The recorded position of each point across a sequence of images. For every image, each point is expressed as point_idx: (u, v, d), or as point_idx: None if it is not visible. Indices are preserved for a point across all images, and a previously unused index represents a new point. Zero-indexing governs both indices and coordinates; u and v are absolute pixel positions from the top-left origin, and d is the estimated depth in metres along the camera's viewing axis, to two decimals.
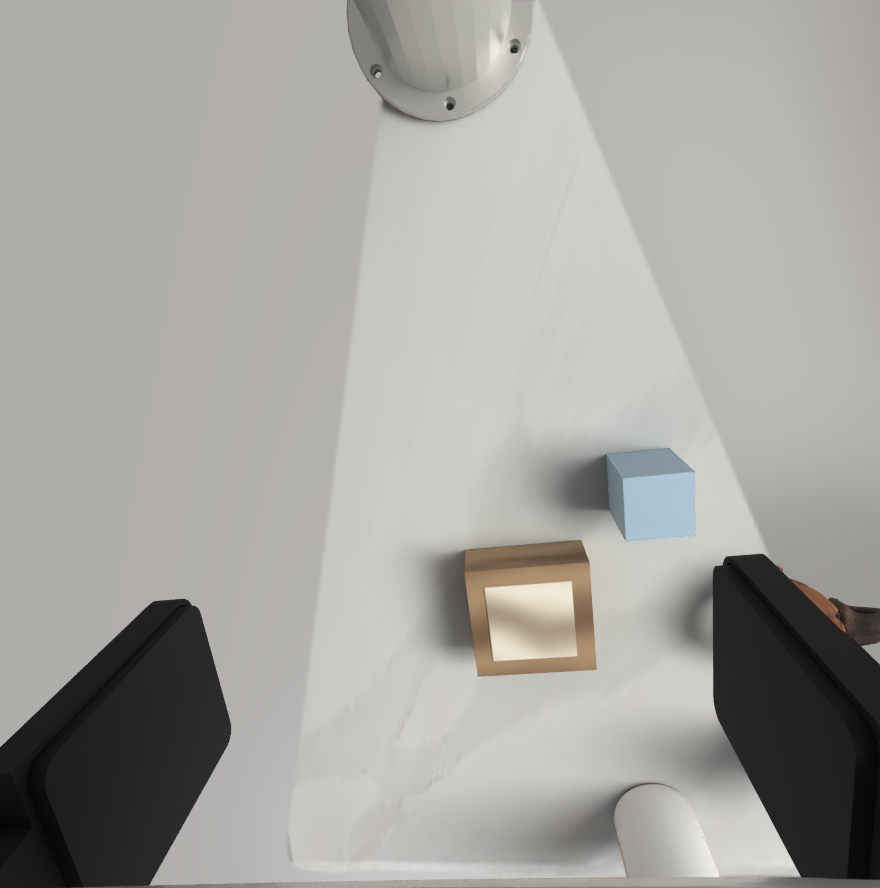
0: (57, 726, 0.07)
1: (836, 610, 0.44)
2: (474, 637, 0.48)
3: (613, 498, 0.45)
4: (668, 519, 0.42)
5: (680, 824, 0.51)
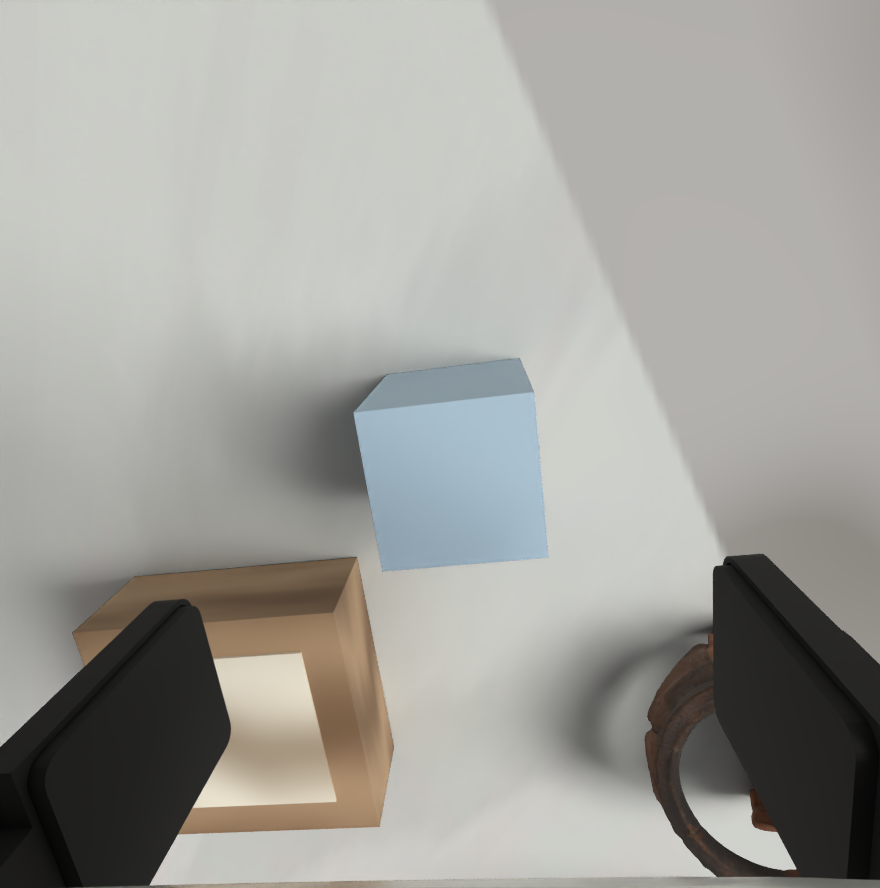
0: (57, 726, 0.07)
1: None
2: None
3: None
4: (477, 518, 0.16)
5: None
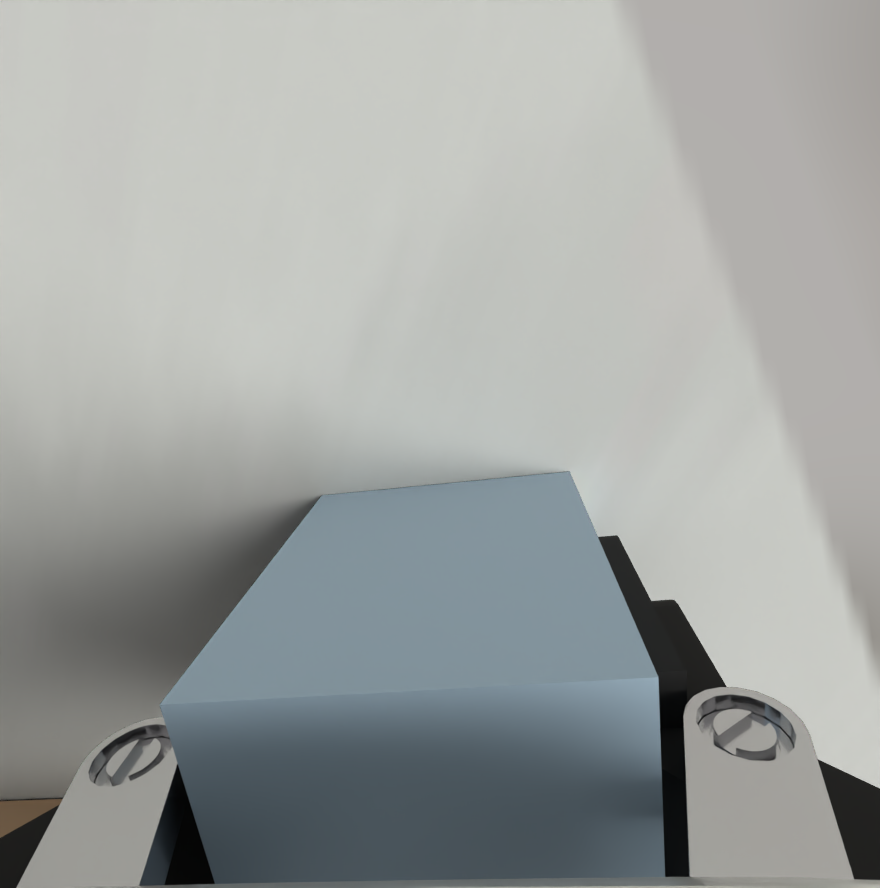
0: None
1: None
2: None
3: None
4: None
5: None
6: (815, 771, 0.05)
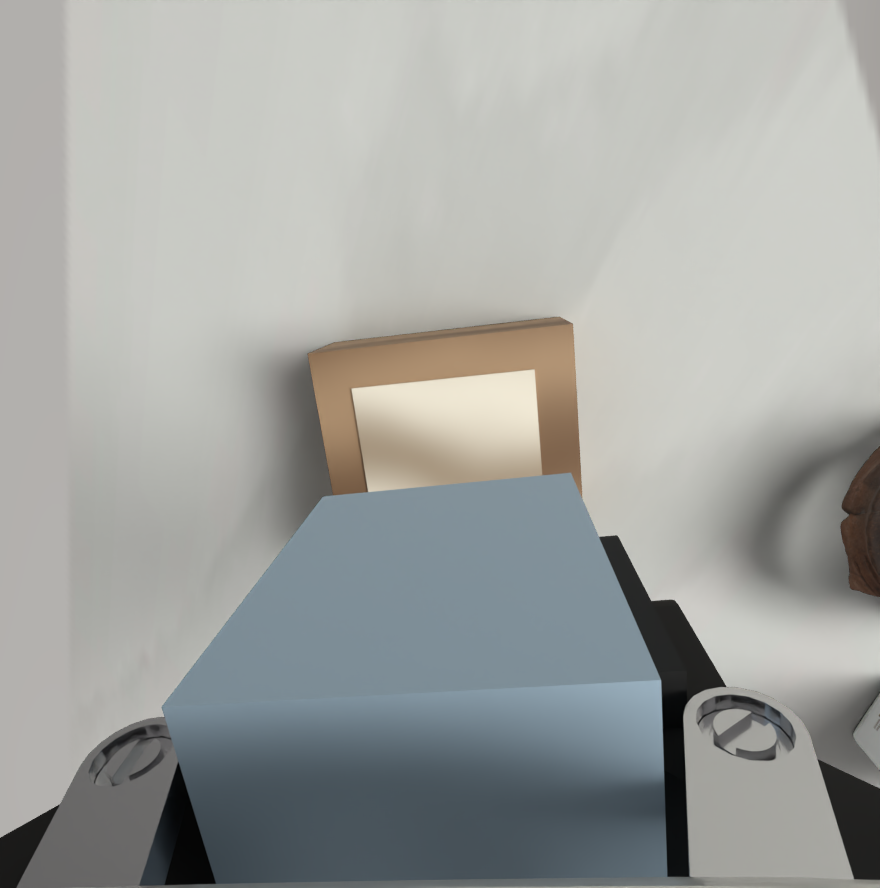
0: None
1: None
2: None
3: None
4: None
5: None
6: (815, 771, 0.05)
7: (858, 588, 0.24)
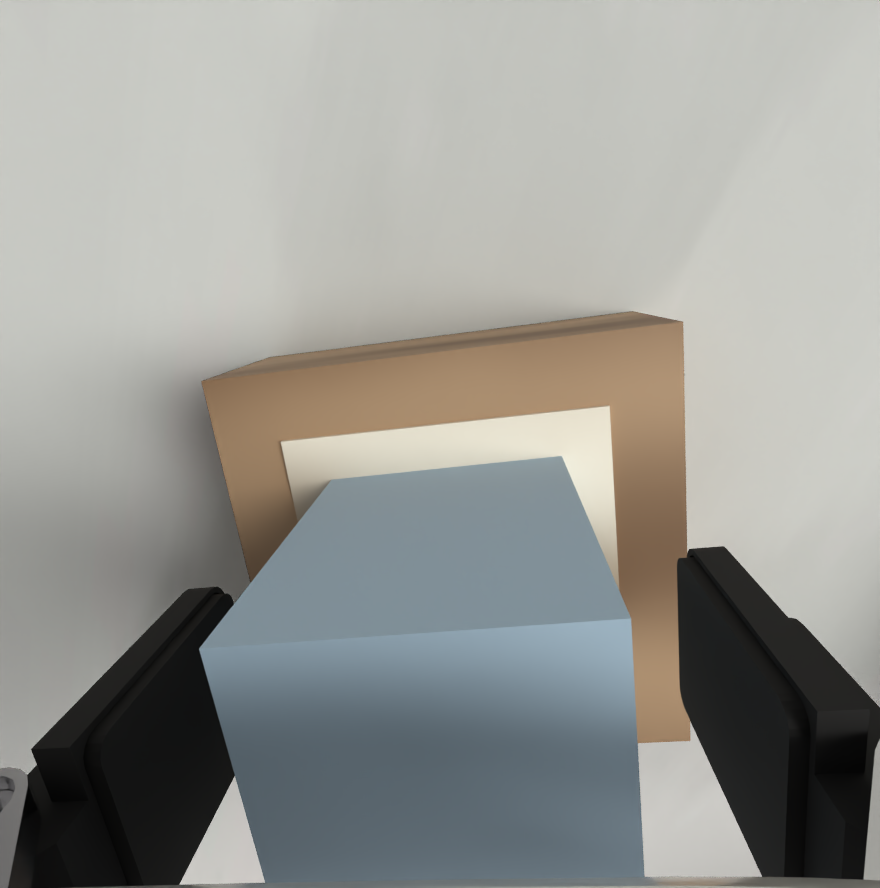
0: (108, 703, 0.07)
1: None
2: None
3: None
4: (490, 869, 0.07)
5: None
6: None
7: None
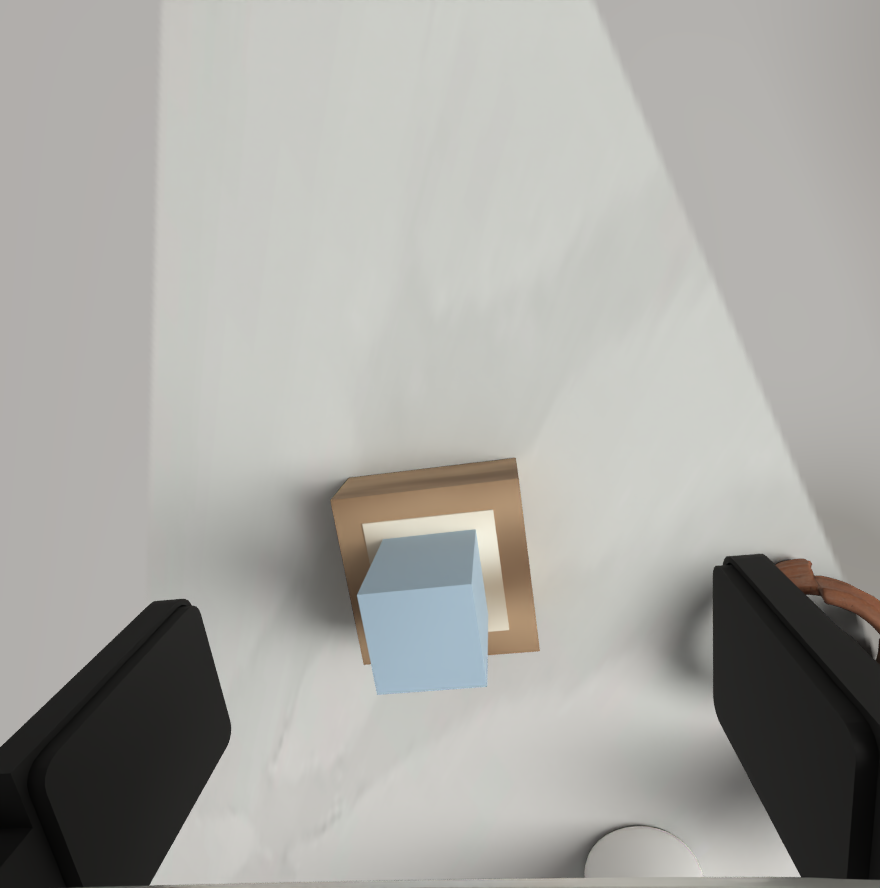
0: (57, 726, 0.07)
1: None
2: (353, 603, 0.32)
3: None
4: (439, 661, 0.25)
5: None
6: None
7: None
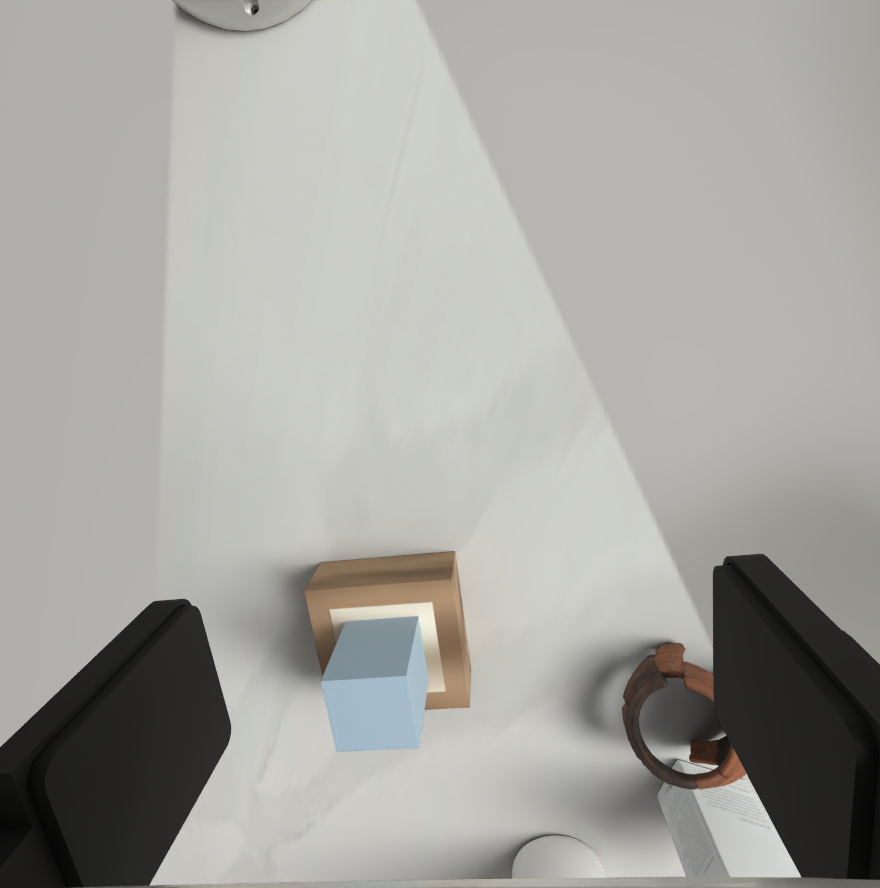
0: (57, 726, 0.07)
1: None
2: (323, 668, 0.40)
3: None
4: (383, 729, 0.33)
5: None
6: None
7: None
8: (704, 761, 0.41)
